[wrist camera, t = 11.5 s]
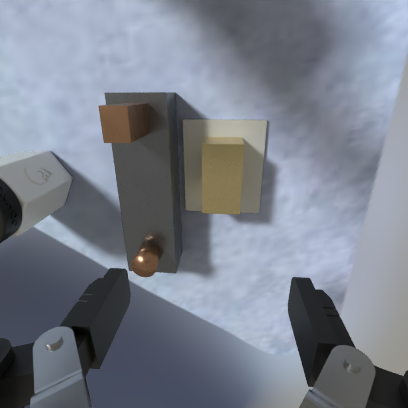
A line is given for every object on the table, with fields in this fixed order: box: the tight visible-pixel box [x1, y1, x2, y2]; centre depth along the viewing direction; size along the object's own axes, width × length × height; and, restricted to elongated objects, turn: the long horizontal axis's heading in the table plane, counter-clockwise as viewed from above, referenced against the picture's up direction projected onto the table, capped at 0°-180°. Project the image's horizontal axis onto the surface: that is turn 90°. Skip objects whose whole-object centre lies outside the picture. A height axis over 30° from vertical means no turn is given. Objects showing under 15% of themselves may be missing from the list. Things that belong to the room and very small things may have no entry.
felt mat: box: [183, 119, 267, 213], centre depth 34 cm, size 12×10×1 cm
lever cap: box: [202, 137, 244, 214], centre depth 31 cm, size 8×4×5 cm, turn 0°
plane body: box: [99, 93, 182, 277], centre depth 30 cm, size 22×6×11 cm, turn 0°
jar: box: [0, 150, 73, 243], centre depth 31 cm, size 9×8×12 cm
